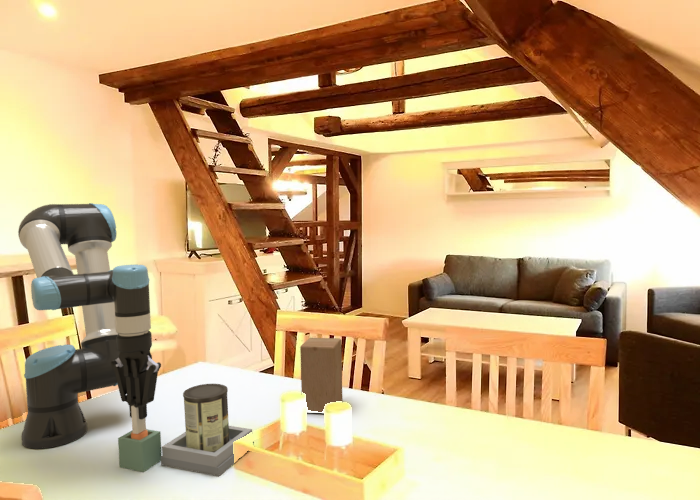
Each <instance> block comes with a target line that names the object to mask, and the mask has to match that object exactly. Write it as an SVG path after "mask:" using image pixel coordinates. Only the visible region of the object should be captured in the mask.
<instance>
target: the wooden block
mask: <svg viewBox="0 0 700 500" xmlns="http://www.w3.org/2000/svg"><path fill="white" fill-rule="evenodd" d="M299 348H300V352H299V353H300V378H301V379H300V380H301V381H300V382H301V386H300V387H301V393H302V392H303V393H305V394H306V402H307V407H308V410H311V411H318V412H322V411H323V409H324V406H325V404H327V403H330V402H336V401H343V367H342V365H343V364H342V362H343V358H342V357H343V356H342V339H341V338H333V337H331V338H330V337H309V338H308V339H306V341H304V342H303V343H302V344H301V345H300V347H299Z"/></svg>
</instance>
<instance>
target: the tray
mask: <svg viewBox="0 0 700 500" xmlns="http://www.w3.org/2000/svg"><path fill="white" fill-rule="evenodd" d="M250 432H252V433H253V428H246V427H240V426H234V425H233V426H232V425H229V442H228V443H227V444H225V445H224V446H223V447H221V448H220V449H219V450H217V451H216V452H209V451H203V450H198V449H192V448H187V445H186V431H184V432H183V433H181V434H180V435H178V436H177V437H175V438H173V439H172V440H170V441H169V442H167V443H165V444H164V445H161V453H162V456H161V461H160V465H161V466H165V467H169V466H170V467H171V468H175V469H180V470H185V471H191V472H194V473H195V472H196V473H199V474H200V473H201V474H205V475H211V476H214V477H215V476H216V477H220V476H221V475H222V474H224V473H225V472H226V471H227V470H229V468H231V467H232V466H233V465H234V464H235V463H234V454H233V442H234V441H236V440H238V439H240V438H242V437H244V436H246V435H247V434H249V433H250Z"/></svg>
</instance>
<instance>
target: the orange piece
mask: <svg viewBox="0 0 700 500" xmlns="http://www.w3.org/2000/svg"><path fill="white" fill-rule="evenodd" d="M146 436H148V431H147V430H144V431H143V432H141V433H139V434H133V432H131V439H137V440H141V439H143V438H145V437H146Z"/></svg>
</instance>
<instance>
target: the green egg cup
mask: <svg viewBox="0 0 700 500" xmlns="http://www.w3.org/2000/svg"><path fill="white" fill-rule="evenodd" d="M146 430H147V431H148V436H146V437H145V438H143V439H141V440H137V439H131V432H132V430H131V431H129V432H127V433H125V434H123V435H121V436H120V437H118V438H117V442H118V443H117V446H118V459H119V460H118V463H119V468H121V469H126V470H132V471H137V472H140V473H144V472H146V471H148V470H149V469H150V468H153V466H156V464H158V463H161V456H162V436H161V435H162V434H161V431H159V430H154V429H147V428H146Z"/></svg>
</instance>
